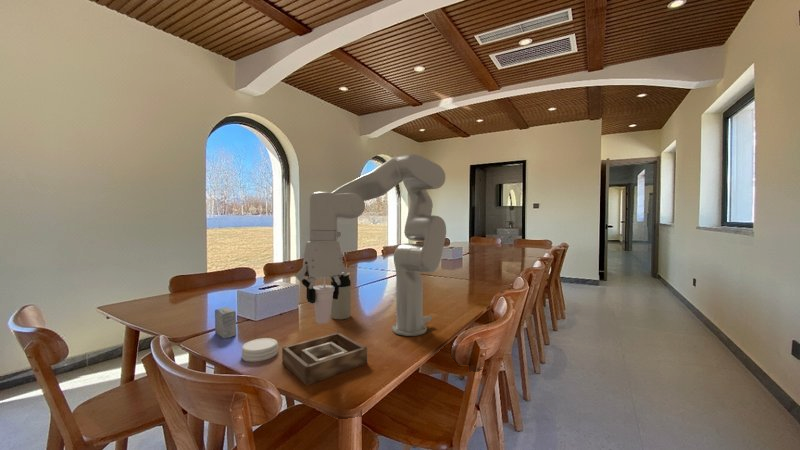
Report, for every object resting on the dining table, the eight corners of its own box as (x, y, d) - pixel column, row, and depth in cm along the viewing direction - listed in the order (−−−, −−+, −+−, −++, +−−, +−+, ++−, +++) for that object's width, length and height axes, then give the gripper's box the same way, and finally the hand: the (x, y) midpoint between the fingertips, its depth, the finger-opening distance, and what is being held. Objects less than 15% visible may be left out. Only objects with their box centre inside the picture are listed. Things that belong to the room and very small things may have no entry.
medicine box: (236, 335, 113) (236, 311, 113) (222, 339, 110) (222, 313, 109) (228, 330, 118) (227, 306, 118) (214, 333, 115) (214, 309, 115)
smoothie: (322, 326, 86) (323, 274, 86) (306, 322, 90) (306, 272, 90) (339, 320, 92) (339, 271, 92) (323, 316, 95) (323, 269, 95)
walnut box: (338, 346, 103) (338, 332, 103) (367, 363, 91) (367, 348, 91) (282, 362, 92) (282, 347, 92) (306, 385, 80) (306, 367, 80)
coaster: (240, 365, 91) (240, 352, 91) (242, 351, 100) (242, 340, 100) (278, 359, 95) (278, 347, 95) (276, 346, 104) (276, 335, 104)
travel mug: (349, 320, 130) (348, 275, 129) (329, 319, 130) (328, 275, 129) (352, 313, 138) (351, 271, 137) (333, 313, 138) (333, 271, 137)
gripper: (343, 235, 99) (343, 293, 99) (287, 236, 88) (287, 302, 88) (357, 236, 93) (356, 298, 94) (299, 238, 82) (298, 308, 82)
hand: (323, 299), depth 91 cm, fingers closed on smoothie, 6 cm apart
